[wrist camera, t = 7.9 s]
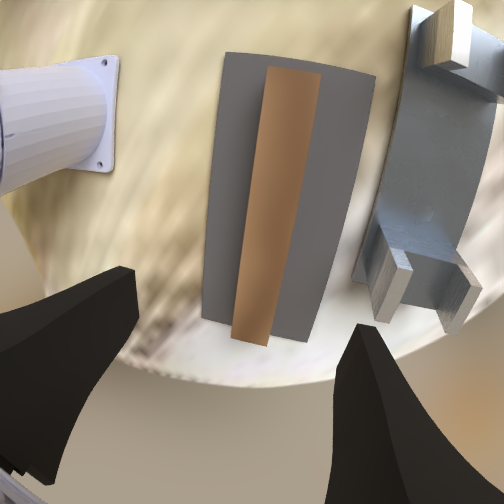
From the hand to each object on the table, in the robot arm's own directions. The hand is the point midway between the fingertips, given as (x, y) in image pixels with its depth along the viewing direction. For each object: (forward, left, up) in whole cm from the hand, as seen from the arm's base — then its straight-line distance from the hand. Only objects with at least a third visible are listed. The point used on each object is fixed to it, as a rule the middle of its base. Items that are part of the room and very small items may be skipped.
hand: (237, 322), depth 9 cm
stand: (+8, +5, -10) cm, 14 cm away
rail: (0, 0, -10) cm, 10 cm away
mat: (0, 0, -10) cm, 10 cm away
